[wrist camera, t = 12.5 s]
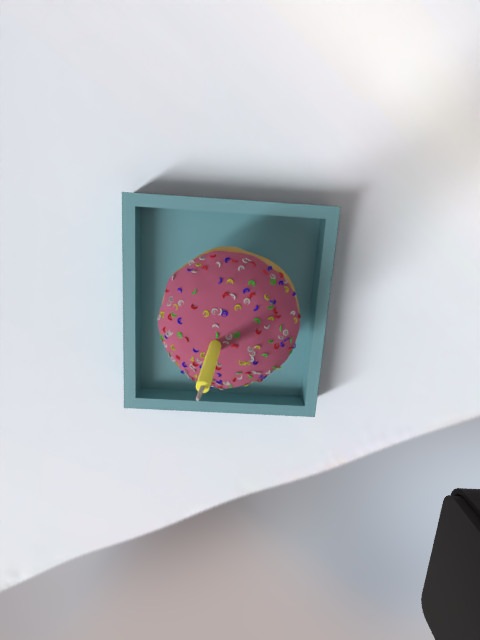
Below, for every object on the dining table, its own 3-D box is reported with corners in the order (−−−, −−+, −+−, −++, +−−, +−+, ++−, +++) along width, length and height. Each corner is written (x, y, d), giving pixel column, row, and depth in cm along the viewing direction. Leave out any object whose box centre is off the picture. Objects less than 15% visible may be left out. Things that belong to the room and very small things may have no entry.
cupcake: (237, 382, 30) (241, 487, 19) (144, 312, 29) (85, 379, 17) (314, 294, 29) (371, 349, 17) (220, 215, 27) (212, 216, 16)
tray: (330, 207, 28) (340, 206, 26) (308, 401, 32) (314, 416, 29) (131, 193, 27) (121, 192, 25) (132, 392, 31) (124, 407, 29)
